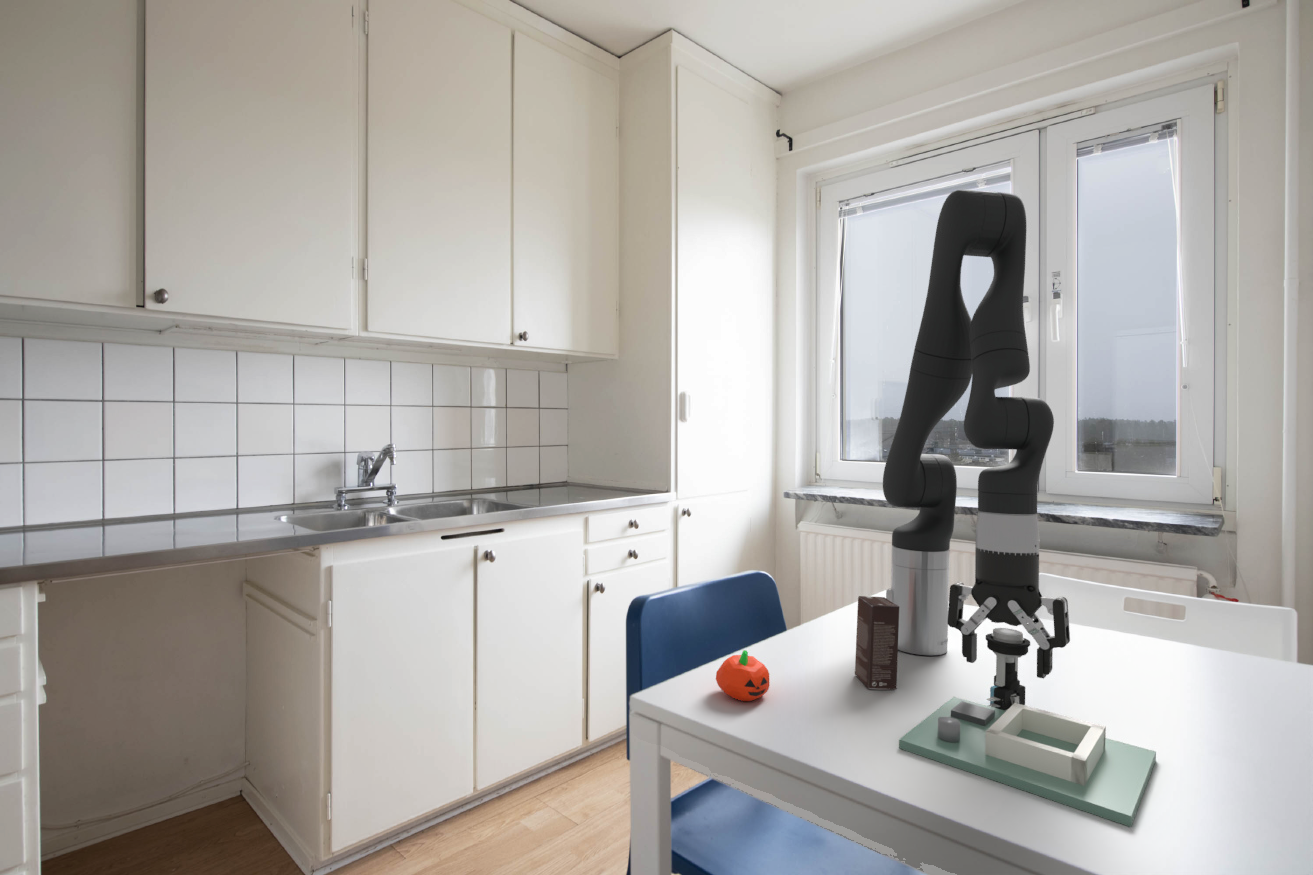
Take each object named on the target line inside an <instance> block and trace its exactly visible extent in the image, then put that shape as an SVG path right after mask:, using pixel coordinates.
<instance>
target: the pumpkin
mask: <svg viewBox="0 0 1313 875" xmlns="http://www.w3.org/2000/svg"><path fill="white" fill-rule="evenodd" d="M748 653H749V652H748V651H747V649H745V650H742V653H741V654H734V655H732V656H730V657H728V658H726V659H725V660H724V661H722V663H721V665H720V667H719V668H718V670H717V671H716V675H715V680H716V683H717V686H718V687H719V688H720V690H721V691H722V692H724V693H725V694H726V695H728V696H729V697H730V698H733V699H734V698H735V700H737V699H738V701H740V700H741V701H742V702H751V701H755V700H757V699H759V698H761V697H763V696H764V695H766V693H767V692H768V691H769V688H770V672H769V670H768V668H767V666H765V664H764V663H763V662H762V661H760V660H759V659H757V658H756V657H755V656H752V655H749V654H748Z"/></svg>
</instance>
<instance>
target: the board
mask: <svg viewBox="0 0 1313 875" xmlns="http://www.w3.org/2000/svg"><path fill="white" fill-rule="evenodd" d="M1106 731H1107V729H1106V725H1101V724H1097V723H1093V722H1090V721H1086V720H1081V719H1078V718H1074V717H1071V716H1067V715H1065V714H1064V715H1063V714H1059V713H1055V712H1052V711H1048V710H1044V709H1039V708H1036V707H1032V706H1028V705H1026V704H1025V705H1022V704H1018V703H1014V704H1013V705H1012V706H1011V707H1010V708H1009V709H1007V710H1001V709H997V708H994V707H992V706H987V705H986V704H982V703H979V702H975V701H971V700H967V699H963V698H960V697H956V696H953V697H951V698H950V699H949V700H947V702H944V704H943V705H941V706H940V707H938V708H937V709H936V710H935V711H933V712H932V713H931V714H930V715H928V716H927V717H926V718H925V719H923V720H922V721H921V722H920V723H918V724H917V725H916V726H914V727H913V728H912V729H910V730H909V731H908V732H906V734H904V735H903V736H902V737H900V738H899V739H898V748H899V749H900V750H904V751H906V752H909V753H913V754H916V755H919V756H921V757H924V758H927V759H930V760H933V761H936V762H939V763H942V764H945V765H947V766H950V767H954V768H956V769H960V770H962V771H966V772H967V773H971V774H974V775H977V776H980V777H983V778H986V779H989V780H992V781H995V782H998V783H1000V784H1004V785H1006V786H1010V787H1012V788H1014V789H1015V788H1016V789H1018V790H1021V791H1025V792H1027V793H1031V794H1033V795H1036V796H1039V797H1042V798H1045V799H1048V800H1050V801H1053V802H1056V803H1059V804H1062V805H1065V806H1068V807H1071V808H1073V809H1077V810H1080V811H1083V812H1086V813H1088V814H1092V815H1095V816H1098V817H1101V818H1104V819H1106V820H1109V821H1112V822H1115V823H1118V824H1121V825H1124V826H1127V827H1130V828H1131V827H1132V825H1133V822H1134V820H1135V818H1136V815H1137V811H1138V809H1139V806H1140V804H1141V801H1142V798H1143V796H1144V793H1145V790H1146V788H1147V785H1148V782H1149V780H1150V777H1151V774H1152V771H1153V769H1154V766H1155V763H1156V762H1157V761H1156V760H1157V756H1156V755H1157V751H1155V750H1153V749H1148V748H1144V747H1141V746H1140V747H1139V746H1138V745H1137V746H1136V745H1133V744H1129V743H1125V742H1123V741H1118V740H1115V739H1112V738H1108V737H1106V736H1107V735H1106Z"/></svg>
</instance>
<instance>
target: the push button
mask: <svg viewBox="0 0 1313 875" xmlns="http://www.w3.org/2000/svg"><path fill="white" fill-rule="evenodd" d="M985 640H986V641H987V643H986V644H987V649H988V650H989V651H992V652H993V653H994V655H995V656H996V660H995V663H996V664H995V665H996V666H995V668H996V669H995V675H994V676H993V685H992V686H990V689H989V692H990V697H988V698H986V700H987V701H989V704H988V705H986V706H990V707H994V708H997V709H1001V710H1005V711H1007V710H1008V709H1009V708H1010V707H1011V706H1012V705H1013V704H1014V703H1018V704H1022V705H1025V706H1026V686H1025V685H1022V684H1020V682H1021V680H1019V678H1018V675H1019V671H1018V669H1019V658H1022V657H1024V656H1026V655H1027V654H1028V653H1029V647H1030V646H1031V640H1029V639H1027V638H1025V637H1024V634H1023V632H1022V631H1020V630H1017V629H1013V628H1007V627H996V628H993V629H992V633H987V634H986V635H985Z"/></svg>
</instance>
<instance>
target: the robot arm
mask: <svg viewBox="0 0 1313 875" xmlns="http://www.w3.org/2000/svg"><path fill="white" fill-rule="evenodd" d="M1026 214H1027V213H1026V208H1025V204H1024V203H1023V199H1022V198H1020V196H1018V195H1017V194H1015V193H1014V194H1013V193H1009V192H1003V191H1002V192H1001V191H1000V192H999V191H990V190H989V191H988V190H978V189H977V190H975V189H956V190H954V191H951V193H950V194H948V196H947V197H946V199H945V201H944V202H943V203H942V207H941V209H940V212H939V215H938V220H937V223H936V224H937V225H936V228H935V229H936V231H935V236H934V242H933V250H932V258H931V265H930V274H929V279H928V280H929V281H928V287H927V293H926V298H925V304H924V307H923V312H922V316H921V321H920V326H919V329H918V334H917V337H916V340H915V345H914V350H913V354H912V358H911V364H910V369H909V375H908V382H907V386H906V390H905V395H904V400H903V404H902V408H901V413H900V416H899V419H898V420H899V421H898V424H897V427H896V430H895V433H894V436H893V439H892V442H891V444H890V445H891V446H890V449H889V450H888V451H889V452H888V455H887V458H886V462H885V465H884V470H883V474H882V475H883V477H882V490H883V491H882V492H883V496H884V498H885V500H886V501H887V503H888V504H889V505H890V506H892V507H893V506H894V507H897V508H908V509H909V508H919V512H918V513H917V514H918V515H917V516H916V517H915V518H914V519H912V520H910V521H909V522H906V523H905V524H902V525H900V526H897V527H896V528H894V530H892V534H891V574H890V575H891V576H890V580H891V581H890V588H888V589H886V593H885V598H886V599H888V600H889V601H891V602H892V603H894V604H896V605H897V606H899V628H898V629H899V631H898V651H901V652H903V653H908V654H914V655H918V656H940V655H944V654H947V652H948V642H949V636H948V635H949V634H948V633H949V632H948V631H949V627H951V628H955V629H956V630H958V631H959V632H960V633H961V653H962V656H963V658H966V660H965V661H966V663H970V664H973V663H975V662H976V661H977V658H978V657H977V656H978V654H977V653H978V633H977V632H975V631H976V630H977V629H978V627H980V626H981V624H982V623H983V622H984V621H986V620H987V619H988V620H990V622H991V623H995V624H998V623H999V624H1000V623H1001V624H1002V623H1004V624H1007V625H1009V626H1013V627H1018V626H1022V627H1023V628H1024V629H1025V630H1026V632H1027V633H1028V634H1029V635H1030V636H1032V638H1033V639H1034V641H1035V642H1036V643H1037V645H1038V648H1037V649H1036V677H1037V678H1039V679H1043V680H1044V679H1045V678H1046V677H1047V675H1050V674H1051V672H1052V670H1053V652H1054V651H1053V649H1056V648H1061V649H1062V648H1065V647H1066V646H1067V645H1068V644H1069V643H1071V642H1070V641H1071V636H1070V635H1071V634H1070V633H1071V632H1070V620H1069V618H1070V617H1069V616H1070V615H1069V606H1068V605H1069V603H1068V599H1067V598H1066V597H1065V596H1063V595H1062V596H1057V597H1052V596H1051V597H1049V596H1042V593H1041V591H1040V548H1041V539H1040V529H1039V528H1040V527H1039V526H1040V525H1039V519H1038V484H1039V479H1040V475H1041V471H1042V466H1043V463H1044V459H1045V456H1046V453H1047V450H1048V447H1049V445H1050V443H1051V442H1050V441H1051V438H1052V435H1053V431H1054V427H1055V426H1054V424H1055V423H1054V422H1055V419H1054V414H1053V412H1052V409H1051V408H1050V406H1049V404H1048V403H1047V402H1046V401H1045V400H1043V399H1042V398H1039V397H1034V396H996V393H995V392H996V390H999V389H1002V388H1007V387H1011V386H1014V385H1017V384H1020V383H1022V382H1023V381H1025V380H1026V379H1027V378H1028V376H1029V374H1030V370H1031V366H1030V365H1031V364H1030V356H1029V348H1028V341H1027V334H1026V328H1025V317H1024V288H1025V274H1026V272H1025V271H1026V255H1027V254H1026V252H1027V250H1026V249H1027V215H1026ZM965 256H969V257H983V258H990V259H991V262H992V264H993V277H992V281H991V284H990V285H989V288H988V289H987V291H986V293H985V295H984V296H983V298H982V299H981V301H980V303H979V304H978V306H977V307H976V309H975V311H974V314H973V316H972V317H971V315H970V314H969V313H970V312H969V311H968V308H967V305H966V302H965V300H964V298H963V292H962V287H961V286H962V285H961V282H962V281H961V279H962V278H961V277H962V274H961V273H962V266H963V260H964V257H965ZM970 383H971V386H970V393H969V397H968V403H967V406H966V410H965V415H964V420H963V430H964V431H963V432H964V434H965V437H966V439H967V440H968V442H969V443H970V444H971V445H972V446H973V447H975V448H977V449H982V450H1015V454H1014V456H1013V458H1012V459H1011V461H1010V462H1009V463H1007V464H1003V465H998V466H993V467H989V468H985V469H983V470H982V471H981V472H980V473H979V475H978V480H977V493H978V494H977V517H976V524H975V550H974V551H975V554H974V555H975V556H974V557H975V558H974V559H975V561H974V564H975V566H974V567H975V568H974V569H975V570H974V572H975V575H974V577H975V579H974V580H975V581H974V585H972V586H970V585H966V584H964V583H963V582H962V581H958V582H955V583H954V584H951V585H950V553H951V552H950V549H951V545H950V544H951V539H952V536H953V533H954V528H955V513H956V503H957V502H956V500H957V487H958V486H957V484H958V483H957V482H958V481H957V478H958V477H957V472H956V468H955V466H954V464H953V462H952V460H951V459H950V458H949V457H948V456H946V455H943V454H939V453H938V454H935V453H934V454H933V453H923V451H924V448H925V446H926V442H927V440H928V438H929V436H930V434H931V432H932V431H934V428H935V427H936V426H937V425H938V424H939V423H940V421H941V420H942V419H943V418H945V416H946V415H947V414H948V413H949V411H951V410H952V408H953V407H954V406H955V405H956V404H957V403H958V402H959V401H960V399H961V398H962V397H963V396H964V394H965V393H966V391H967V389H968V388H969V385H970ZM949 585H950V586H949ZM970 595H971V597H972V599H973V600H974V601H975V603H976V604H977V606H978V607H979V608H978V609H977V610H976V611H975V612H974V613H972V615H971V616H970V617H969V619H968V620H965V619H964V618H963V616H964V615H963V614H964V603H965V602H964V601H966V600H968V599H969V596H970ZM1042 606H1044V607H1045V608H1046V611H1047V613H1048V614H1049V615H1051V616H1053V629H1054V630H1053V632H1054V635H1052V636H1051V635H1050V633H1049V631H1048V630H1047V629H1046V627H1045V625H1044V623H1043V622H1042V620H1041V619H1040V618H1039V616H1038V615H1037V613H1036V612H1037V611H1039V609H1040V608H1041V607H1042Z"/></svg>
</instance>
